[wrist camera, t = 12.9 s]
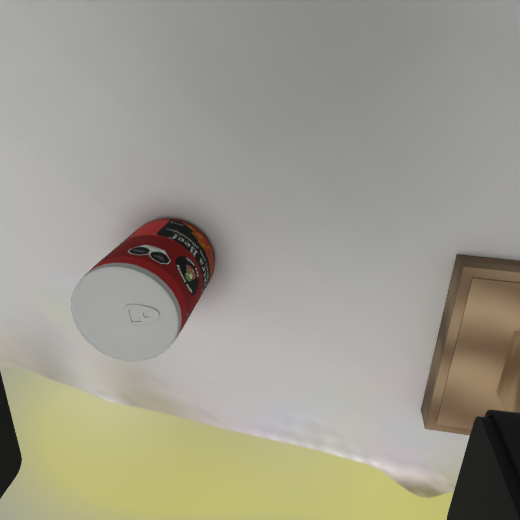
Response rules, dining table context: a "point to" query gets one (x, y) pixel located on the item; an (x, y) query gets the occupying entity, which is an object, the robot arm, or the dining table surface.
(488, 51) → the dining table surface
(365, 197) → the dining table surface
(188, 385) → the dining table surface
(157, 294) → the canned food
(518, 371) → the tan cube
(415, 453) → the dining table surface
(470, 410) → the oak board
